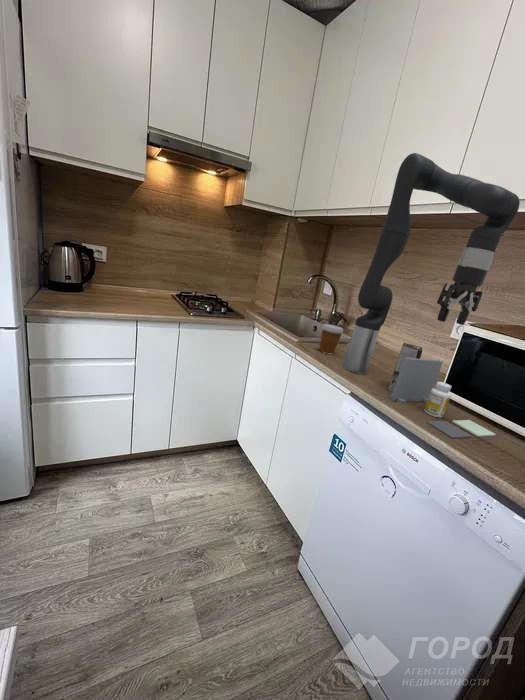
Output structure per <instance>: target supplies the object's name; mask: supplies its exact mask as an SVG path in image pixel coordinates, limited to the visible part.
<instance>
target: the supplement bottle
mask: <svg viewBox="0 0 525 700" xmlns="http://www.w3.org/2000/svg"><path fill="white" fill-rule="evenodd" d="M451 389H452V385H451V384H448V383H446V382H442V381H436V382H435V387H433V388H432V389H431V392H430V394H429V397H428V400H427V403H425V405H424V408H423V410H424V412H425V413H426V414H428V415H429V416H432V417H434V418H443V417H444V414H445V412H446V410H447V407H448V404H449V402H450V399H451V393H450V392H451Z"/></svg>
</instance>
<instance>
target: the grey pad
mask: <svg viewBox="0 0 525 700" xmlns="http://www.w3.org/2000/svg"><path fill="white" fill-rule="evenodd" d="M426 424H427V425H429V426H431V427H433V428H434V429H436V430H438V431H439V432H441V433H442V434H443V435H445V436H447V437H449V438H450V439H452V440H453V439H465V438H467V439H468V438H472V437H473V435H471V434H469V433H468V432H465V431H464V430H463V429H462V428H461V429H460V428H459V427H457V426H455V425H454V424H452V423H450V422H448V421H447V420H436V421H435V420H433V421H432V420H431V421H429V420H428V421H426Z"/></svg>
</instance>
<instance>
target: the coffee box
mask: <svg viewBox="0 0 525 700" xmlns="http://www.w3.org/2000/svg"><path fill="white" fill-rule="evenodd" d="M422 353H423V347H422V346H418V345H415V344H411V343H405V342H403V344H402V346H401V350H400V353H399V355H398V357H397V362H396V363H395V366H394V370H393V373H392V377H391V380H390V382H389V386H388V388H387V389H388V391H391V392H393V390H394V387H395V384H396V381H397V378H398V375H399V372H400V369H401V366H402V363H403V360H404V358H416V359H421V357H422Z"/></svg>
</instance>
